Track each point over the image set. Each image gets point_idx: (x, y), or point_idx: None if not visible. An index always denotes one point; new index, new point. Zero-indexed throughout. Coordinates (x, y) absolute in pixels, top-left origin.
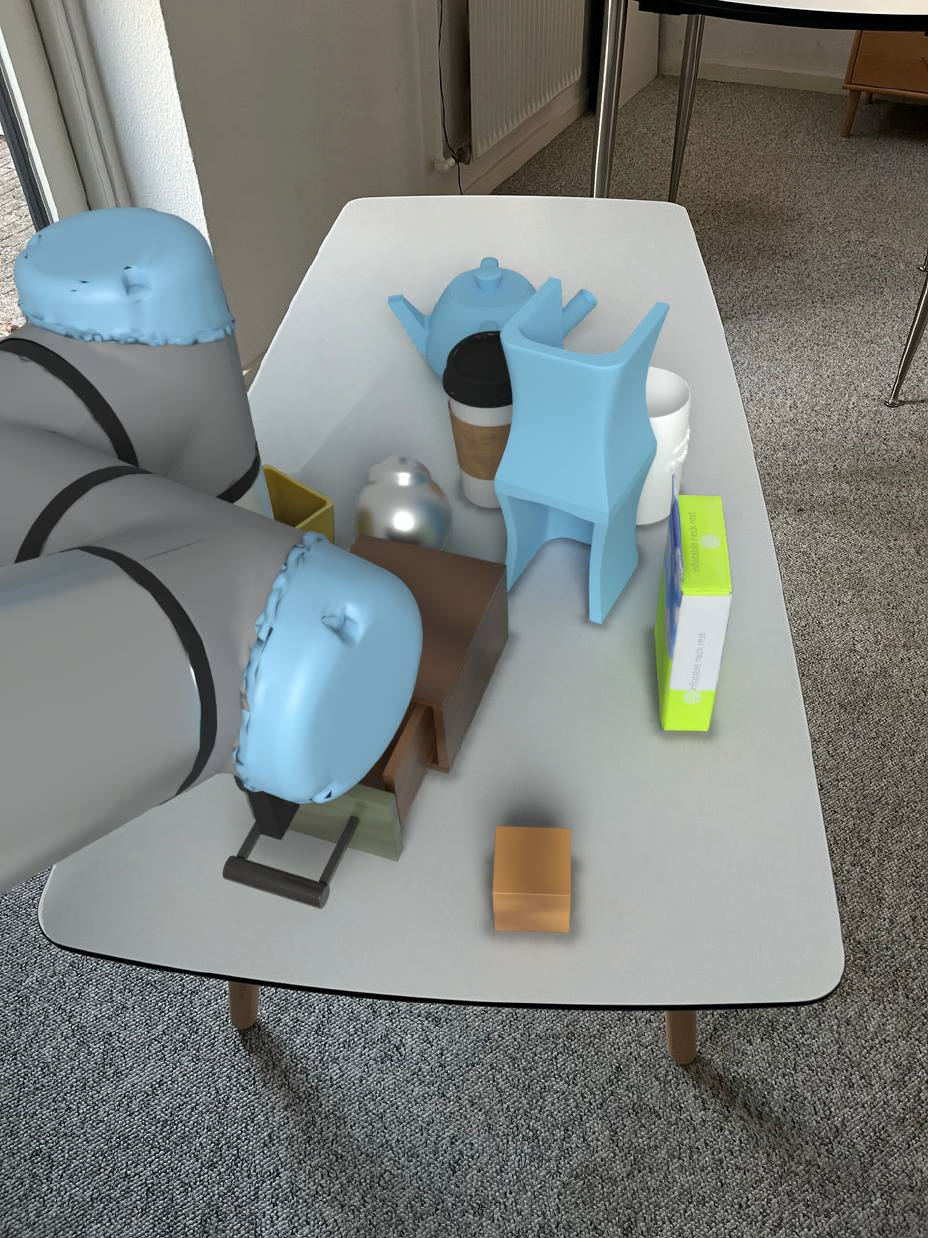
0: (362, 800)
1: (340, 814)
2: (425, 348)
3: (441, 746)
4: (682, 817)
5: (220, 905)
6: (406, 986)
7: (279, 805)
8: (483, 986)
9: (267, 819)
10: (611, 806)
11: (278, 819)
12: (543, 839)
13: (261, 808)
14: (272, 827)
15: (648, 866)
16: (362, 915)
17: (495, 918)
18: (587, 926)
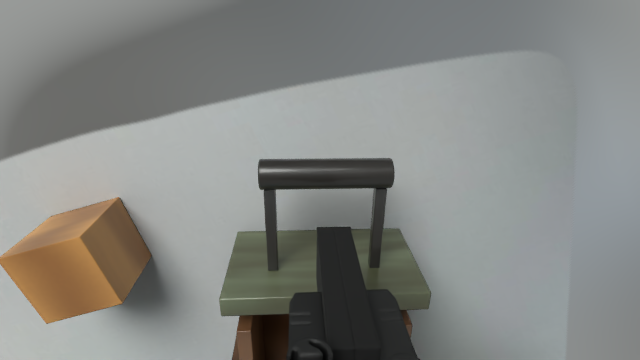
0: (254, 298)
1: (291, 267)
2: None
3: (238, 352)
4: (20, 340)
5: (396, 136)
6: (170, 116)
7: (320, 282)
8: (97, 141)
9: (334, 254)
10: (85, 332)
11: (319, 258)
12: (65, 305)
13: (342, 272)
14: (327, 243)
15: (21, 293)
16: (250, 171)
17: (106, 208)
18: None
